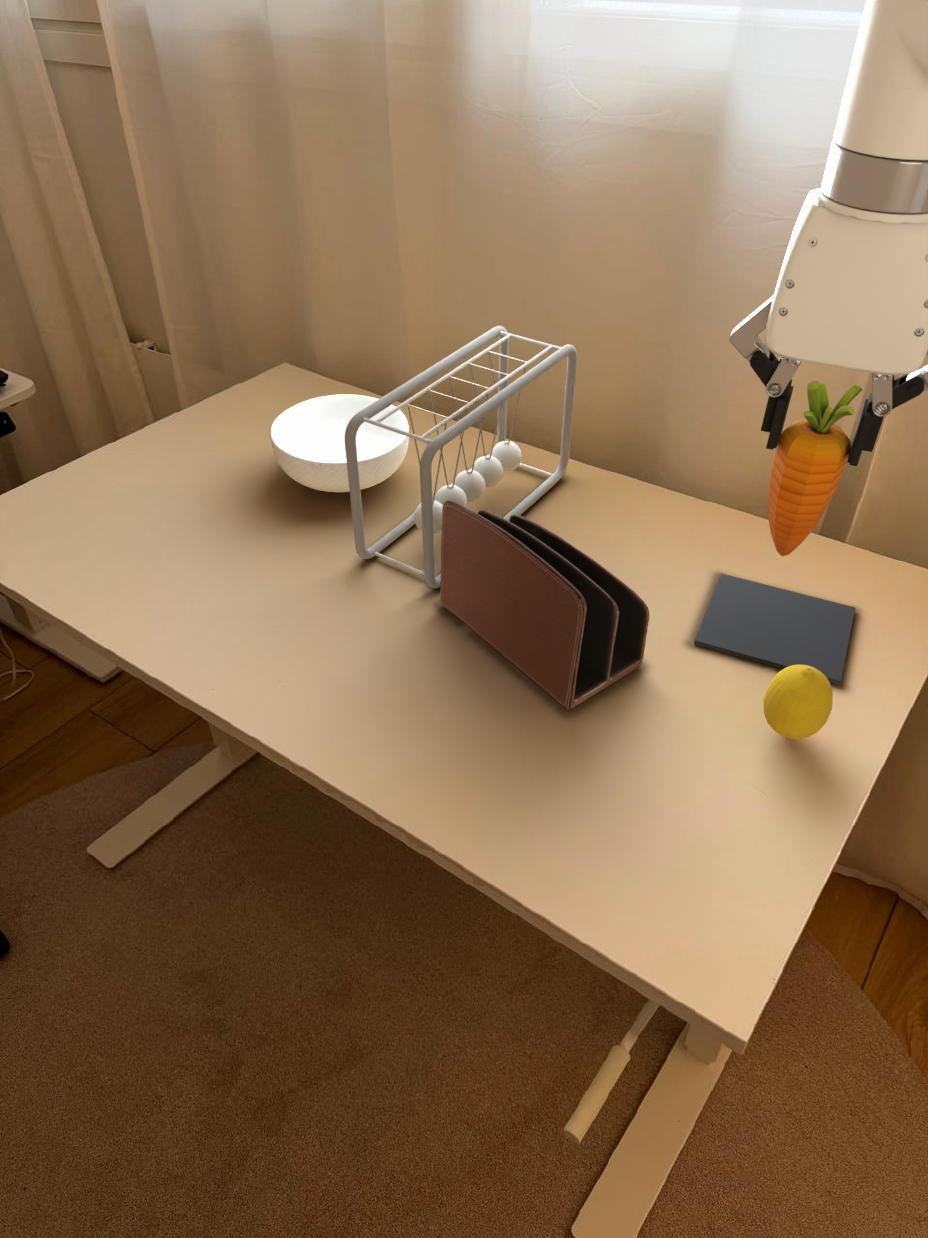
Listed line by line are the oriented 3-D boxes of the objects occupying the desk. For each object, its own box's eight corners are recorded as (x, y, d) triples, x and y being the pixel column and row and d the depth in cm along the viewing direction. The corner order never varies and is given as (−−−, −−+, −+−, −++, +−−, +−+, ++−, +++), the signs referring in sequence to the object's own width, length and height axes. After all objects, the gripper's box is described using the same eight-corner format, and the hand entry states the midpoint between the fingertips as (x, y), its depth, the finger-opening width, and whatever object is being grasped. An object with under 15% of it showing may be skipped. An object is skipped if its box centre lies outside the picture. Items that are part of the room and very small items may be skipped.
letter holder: (568, 713, 82) (581, 595, 73) (439, 605, 94) (435, 491, 85) (643, 666, 87) (664, 550, 78) (511, 568, 99) (515, 457, 89)
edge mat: (854, 611, 93) (855, 607, 93) (839, 685, 85) (841, 681, 85) (720, 576, 98) (721, 573, 97) (694, 644, 89) (694, 640, 89)
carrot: (815, 543, 72) (870, 369, 63) (814, 579, 69) (871, 401, 59) (753, 532, 74) (796, 360, 64) (748, 567, 70) (793, 390, 60)
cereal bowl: (249, 486, 111) (240, 436, 107) (332, 430, 122) (327, 382, 118) (358, 527, 105) (353, 475, 100) (436, 464, 115) (435, 414, 111)
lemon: (826, 726, 81) (850, 662, 76) (808, 766, 77) (833, 702, 72) (766, 702, 83) (786, 639, 78) (746, 740, 80) (766, 676, 74)
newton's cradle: (499, 450, 118) (503, 319, 106) (569, 473, 114) (580, 339, 102) (355, 564, 99) (340, 420, 88) (431, 598, 95) (426, 451, 83)
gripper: (1046, 178, 53) (940, 448, 65) (755, 149, 58) (707, 404, 70) (1054, 214, 48) (937, 500, 60) (734, 179, 53) (685, 449, 65)
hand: (813, 446), depth 65 cm, fingers closed on carrot, 5 cm apart
